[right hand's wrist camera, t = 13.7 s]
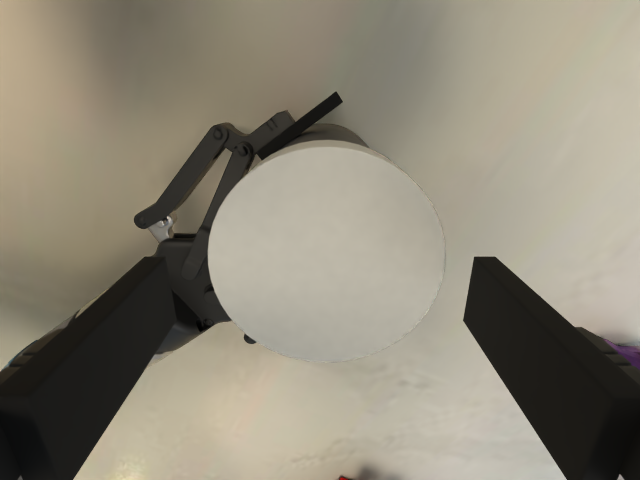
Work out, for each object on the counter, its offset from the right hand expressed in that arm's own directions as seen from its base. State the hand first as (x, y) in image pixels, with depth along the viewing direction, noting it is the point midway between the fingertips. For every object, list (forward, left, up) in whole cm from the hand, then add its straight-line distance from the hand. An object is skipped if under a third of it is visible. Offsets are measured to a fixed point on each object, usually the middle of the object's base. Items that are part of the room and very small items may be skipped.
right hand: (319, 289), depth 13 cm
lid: (0, 0, -2) cm, 2 cm away
